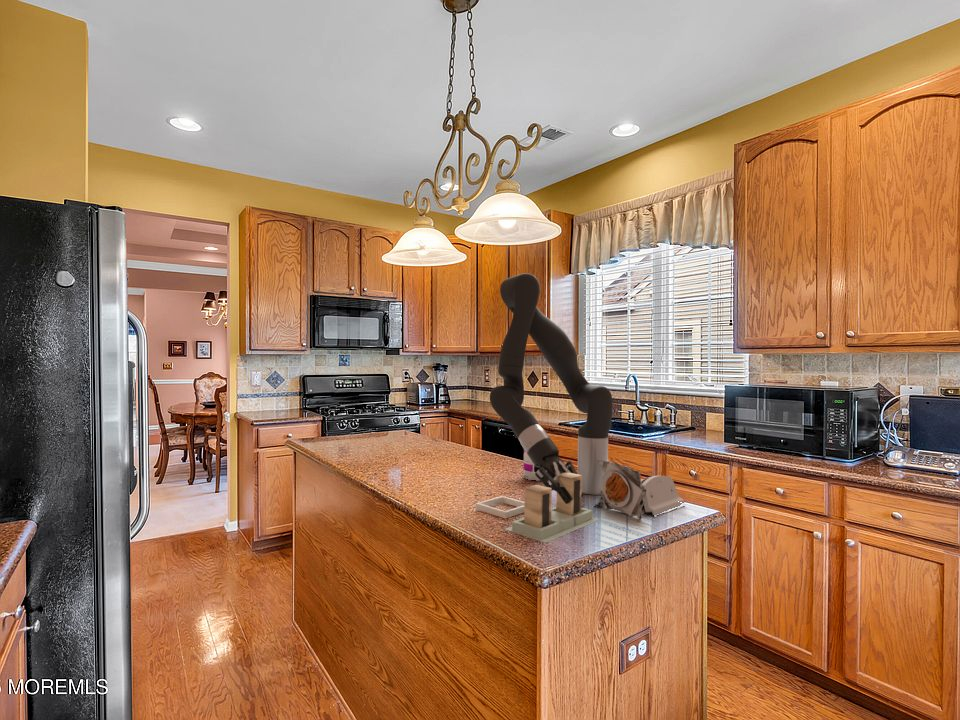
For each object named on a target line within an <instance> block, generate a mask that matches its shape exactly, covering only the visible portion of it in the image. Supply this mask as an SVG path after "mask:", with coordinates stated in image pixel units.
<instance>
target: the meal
mask: <svg viewBox="0 0 960 720" xmlns="http://www.w3.org/2000/svg"><path fill="white" fill-rule="evenodd" d="M597 462H598V464H599V465H600V466H601V469H602V470H603V472H604V476H603V477H602V481H601V483H600V486H599V489H600V490H601V491H600V495H601V496H599V497H598V499H599V500H598V501H597V503H596V504H595V505H593V508H602V509H606V510H615V511H618V512H620V513H623V512H624V513H623V514H627V515H628V516H629V517H630V516H631V517H632V516H633V517H635V516H636V517H637V520H638V521H639V520H640V521H641V520H642V518H643V516H644V513H645V512H644V510H643V511H642V506H643V505H644V503H645V501H644V498H645V494H646V488H645V487H644V485H643V484H642V482H641V480H642V479H641V478H642V475H641V472H640V471H638V470H635V469H633V468H631V467H630V466H627V465H623V464H619V463H617V462H613V461H610V462H606V461H601V460H597ZM641 488H642V489H643V490H642V489H641ZM643 492H645V493H644V495H642V493H643ZM641 500H643V504H642V505H640V502H641Z"/></svg>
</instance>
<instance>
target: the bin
mask: <svg viewBox="0 0 960 720" xmlns="http://www.w3.org/2000/svg"><path fill="white" fill-rule="evenodd" d="M524 502H525V501H523V500H518V499H515V498H511V497H508V496H505V495H500V496H497V497H493V498H489V499H487V500H486V499H485V500H483V501H479V502H476V503H475V512H483V513H487V514H489V515H493V516H495V517H500V518H503V519H508V518H512V517H513V516H514V517H515V516H517V515H520V514H524ZM503 504H505V505H510V506H514V508H510V509H507V510H503V509H500V508H496V506H499V505H503Z"/></svg>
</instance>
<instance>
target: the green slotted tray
mask: <svg viewBox="0 0 960 720" xmlns="http://www.w3.org/2000/svg"><path fill="white" fill-rule="evenodd" d="M593 515H594V511H593V510H592V509H588V508H586V507H585V508H583V507H581V513H579V514H577V515H574V516H571V515H567V514H563V513H560V512H556V506H553V507H551V525H548V526H546V527H543V528H537V527H534V526H530V525H527V524H524V517H521V518H519V519H516V520H513V521H512V522H511V526H509V527H507V528H504V530H506V531H509V532H512V533H514V534H518V535H521V536H524V537H526V538H529V539H533V540H535V541H539V542H541V543H545V544H546V543H548V542H550V541H553V540H555V539H557V538H561V537H562V536H564V535H566V534H567V535H568V534H569V533H572V532H574V531H577V530H579V529H581V528H584V527H586V526H588V525H591V524H593V523H596V522H598V521H601V518H596V517H593Z"/></svg>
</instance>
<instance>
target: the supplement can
mask: <svg viewBox="0 0 960 720" xmlns="http://www.w3.org/2000/svg"><path fill="white" fill-rule="evenodd" d="M539 469H540V467H536V466H535V465H534V464H533V462H532V460H531V459H530V457H529V456H528V454H527V453H526V451H525V450H524V449H523V473H522V474H523V477H524V478H525V480H527V479H528V480H527V481H531V480H536V481H535V482H541V481H540V480H539V479H538V477H537V476H536V475H535V473H536V472H537V471H538V470H539Z"/></svg>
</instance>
